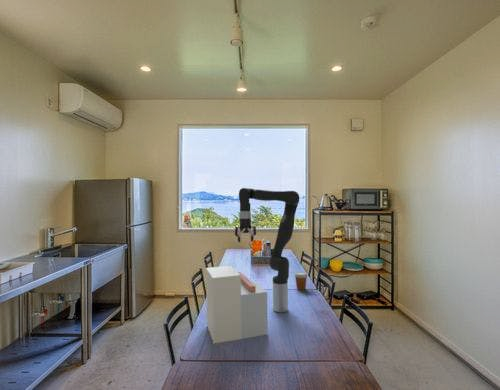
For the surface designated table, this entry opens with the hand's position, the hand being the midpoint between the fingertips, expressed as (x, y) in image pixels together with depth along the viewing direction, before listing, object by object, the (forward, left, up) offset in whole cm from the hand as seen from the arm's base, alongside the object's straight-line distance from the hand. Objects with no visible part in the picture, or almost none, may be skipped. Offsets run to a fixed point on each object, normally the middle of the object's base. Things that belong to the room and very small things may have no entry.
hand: (245, 241), depth 195 cm
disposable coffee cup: (-10, +46, -40) cm, 62 cm away
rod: (+31, -10, -18) cm, 37 cm away
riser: (+37, -17, -40) cm, 57 cm away
